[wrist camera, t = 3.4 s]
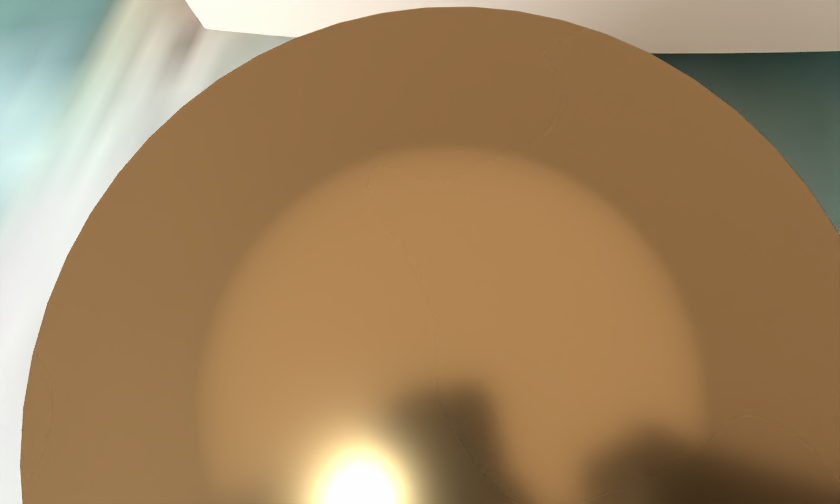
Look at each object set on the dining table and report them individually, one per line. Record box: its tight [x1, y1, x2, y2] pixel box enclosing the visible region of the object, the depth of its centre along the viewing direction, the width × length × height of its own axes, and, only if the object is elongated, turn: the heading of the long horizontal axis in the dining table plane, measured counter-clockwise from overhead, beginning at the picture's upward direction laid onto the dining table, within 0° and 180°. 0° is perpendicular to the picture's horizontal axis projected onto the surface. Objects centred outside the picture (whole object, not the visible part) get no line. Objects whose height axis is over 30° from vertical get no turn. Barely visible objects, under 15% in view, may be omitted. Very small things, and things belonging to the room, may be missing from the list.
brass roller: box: [20, 7, 840, 504], centre depth 9 cm, size 5×5×13 cm
